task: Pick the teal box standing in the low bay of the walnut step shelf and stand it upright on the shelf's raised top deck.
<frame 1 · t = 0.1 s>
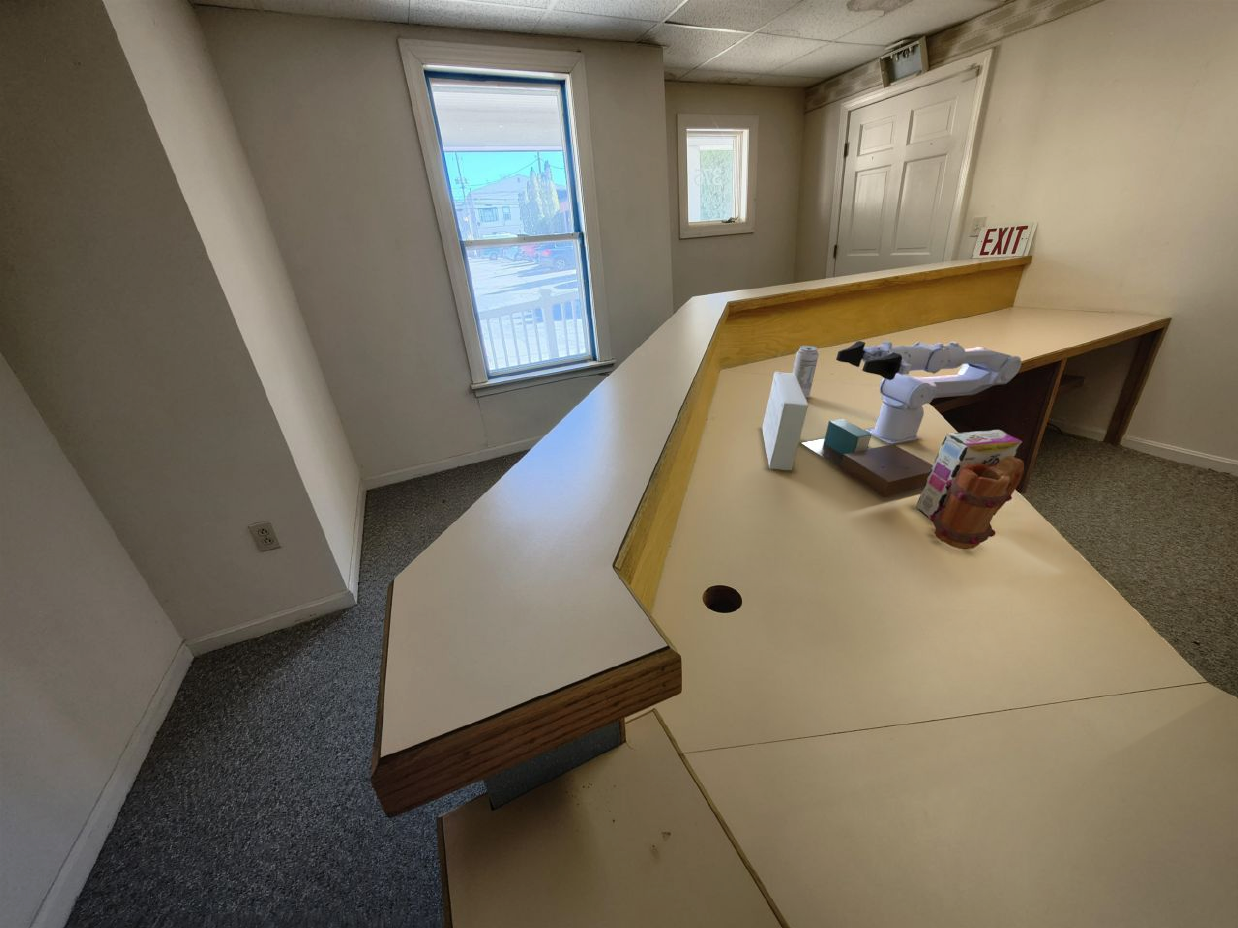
hand: (851, 361, 99), 22 cm above the worktop, tool horizontal, fingers open, 7 cm apart
skincare box: (776, 449, 109), on the worktop
energy drink can: (798, 397, 138), on the worktop
teal box: (843, 450, 108), resting on step shelf
mug: (963, 537, 81), on the worktop
step shelf: (864, 464, 103), on the worktop
candy bar box: (948, 513, 87), on the worktop
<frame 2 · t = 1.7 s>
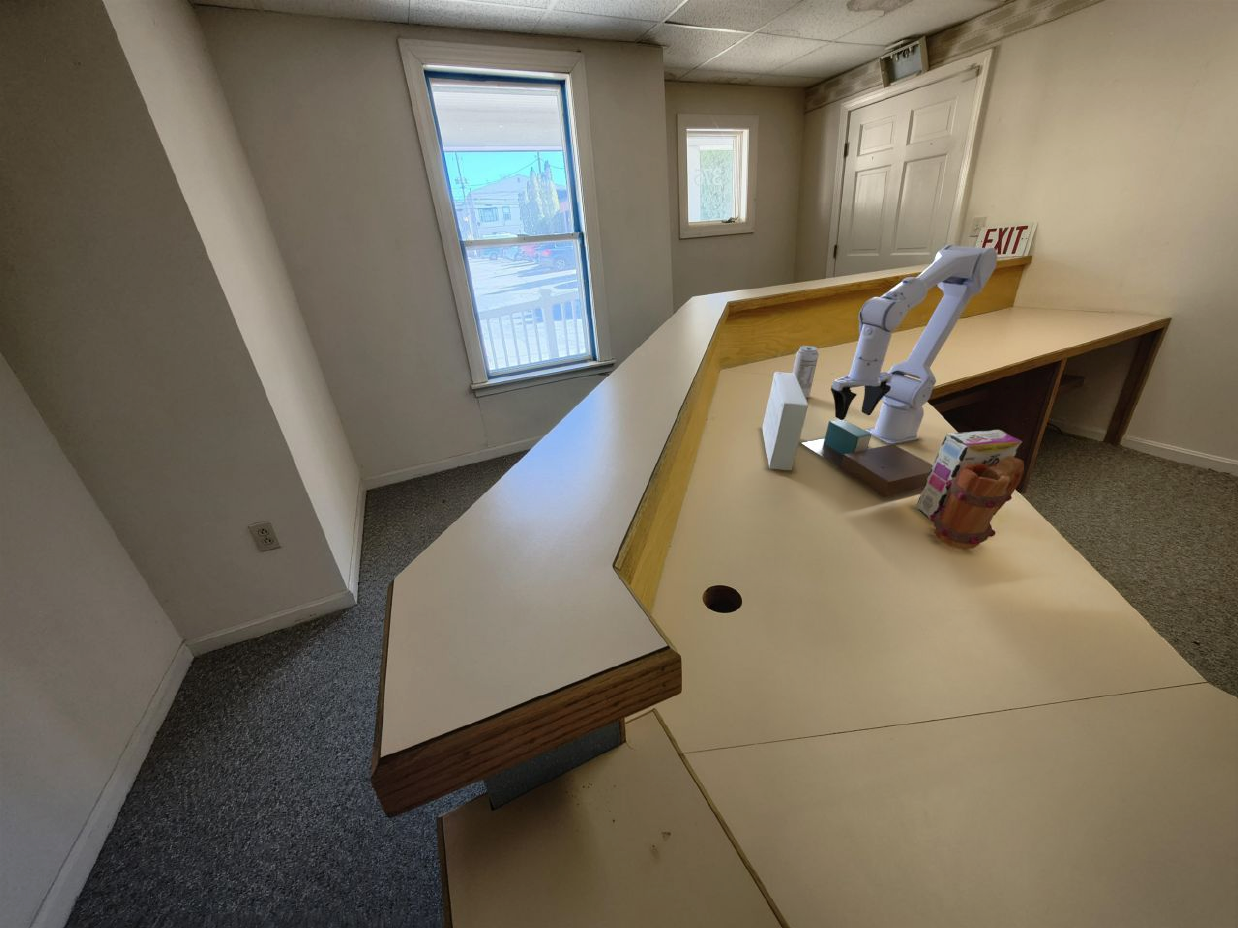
hand: (852, 415, 103), 9 cm above the worktop, tool pointing down, fingers open, 7 cm apart
nothing on the worktop moved.
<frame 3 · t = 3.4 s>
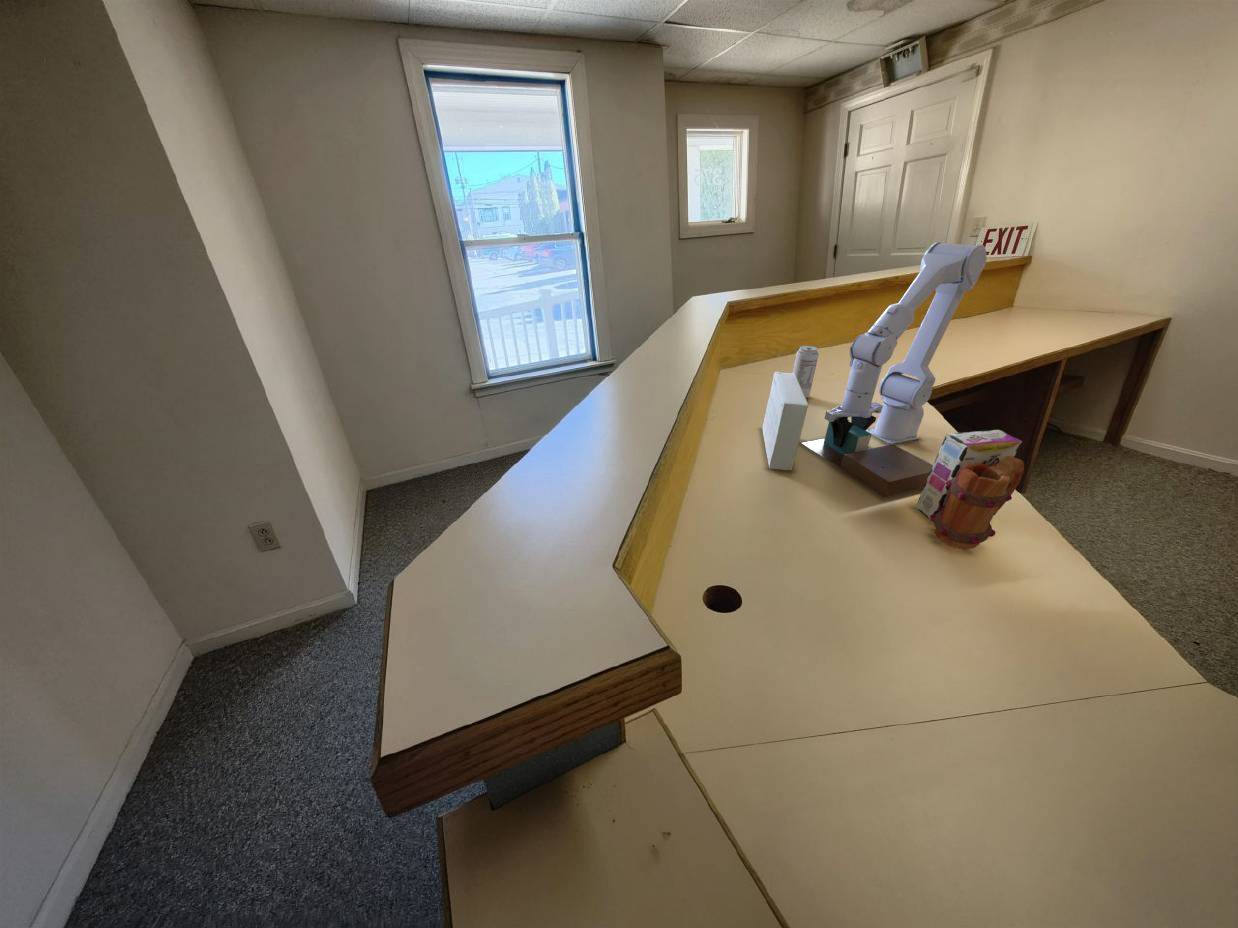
hand: (845, 444, 107), 2 cm above the worktop, tool pointing down, fingers closed on teal box, 4 cm apart
teal box: (843, 450, 108), resting on step shelf, touching gripper
everything else where it was.
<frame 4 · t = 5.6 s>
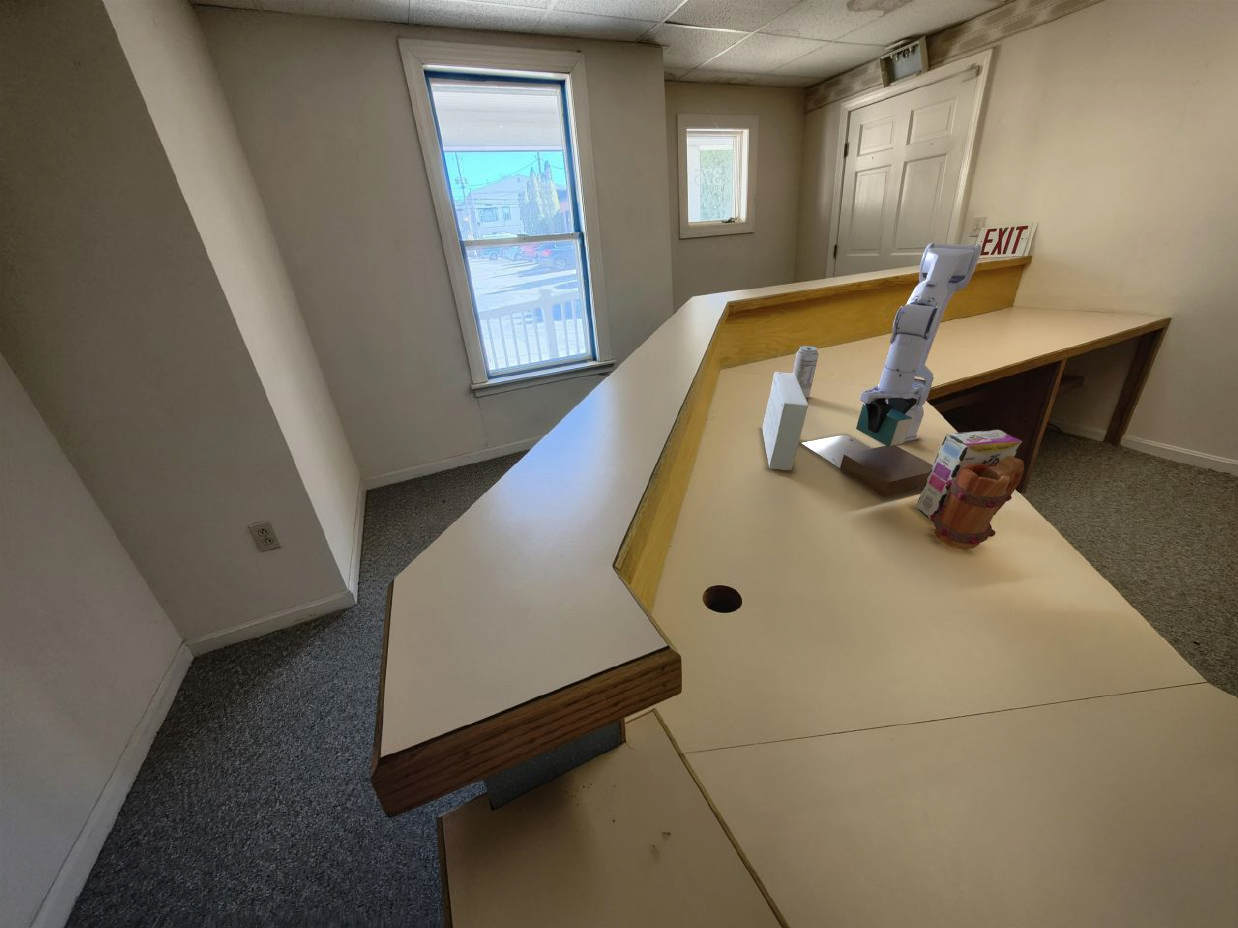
hand: (880, 429, 97), 9 cm above the worktop, tool pointing down, fingers closed on teal box, 4 cm apart
teal box: (878, 436, 98), point 8 cm above the worktop, touching gripper
everything else where it was.
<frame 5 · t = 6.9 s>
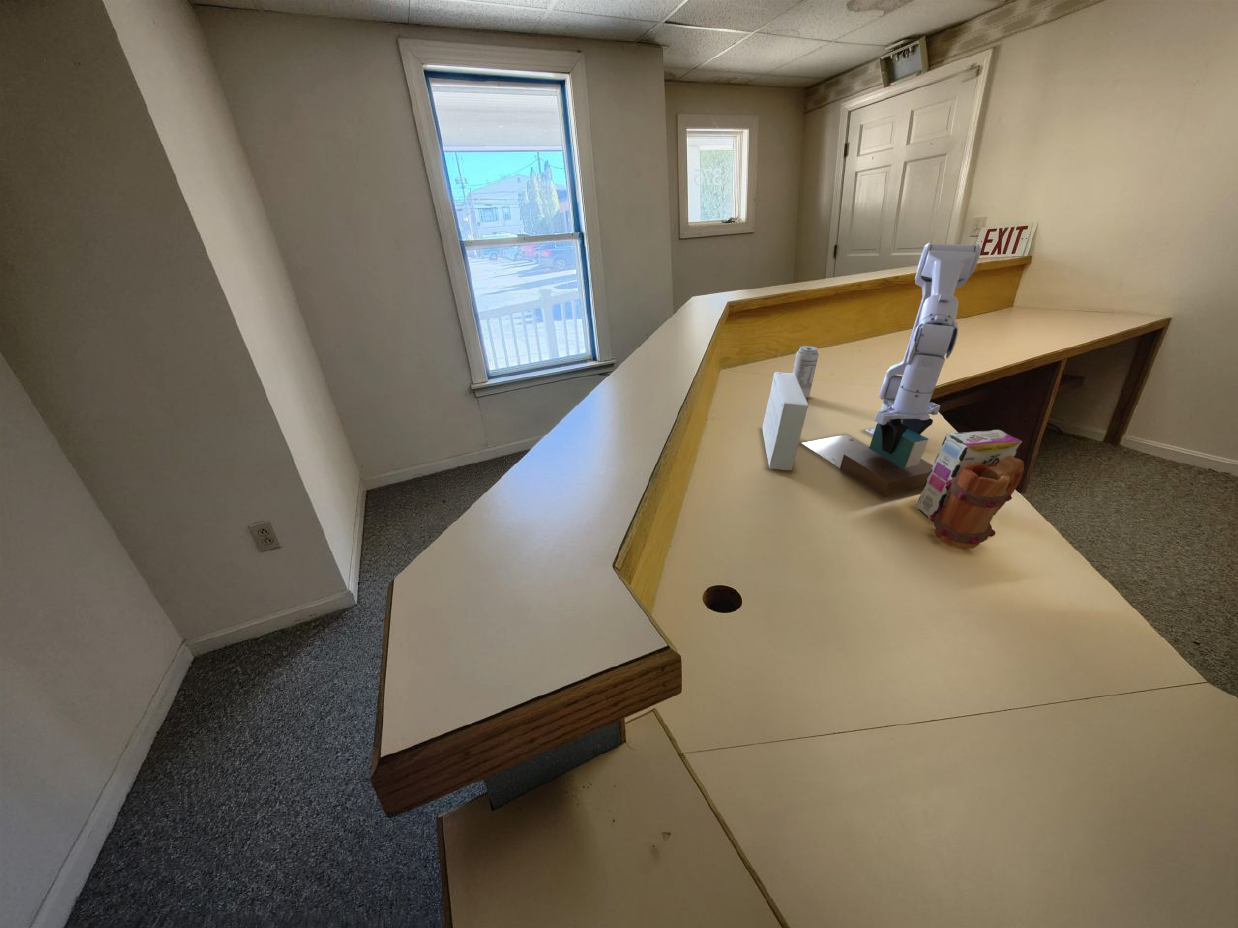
hand: (895, 449, 94), 7 cm above the worktop, tool pointing down, fingers closed on teal box, 4 cm apart
teal box: (893, 456, 95), point 5 cm above the worktop, touching gripper
everything else where it was.
when the fingers open (6 cm above the worktop, at t = 7.7 s): teal box stays where it is, resting on step shelf.
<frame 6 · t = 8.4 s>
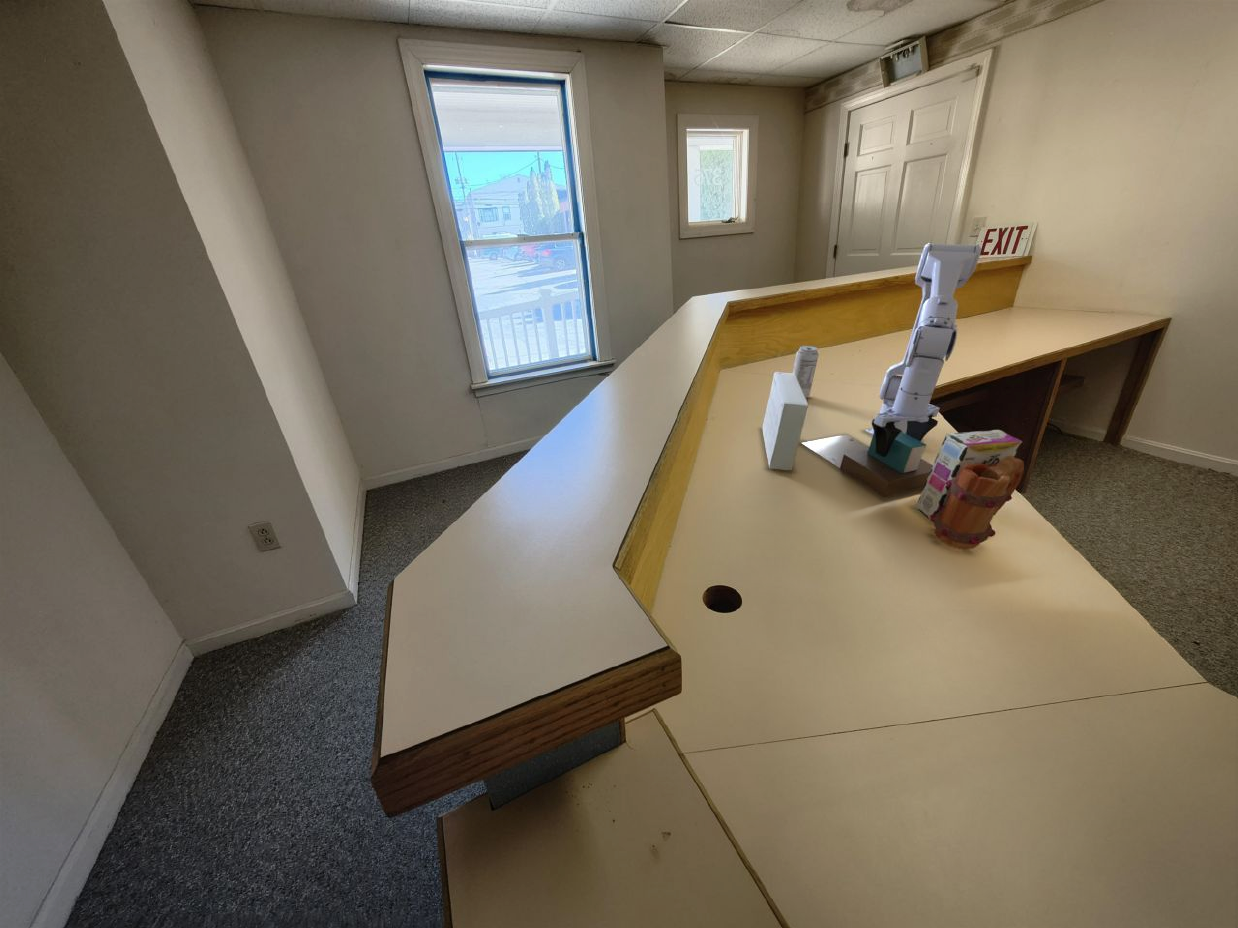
hand: (894, 451, 95), 6 cm above the worktop, tool pointing down, fingers open, 7 cm apart
teal box: (891, 461, 96), point 4 cm above the worktop, touching step shelf
everything else where it was.
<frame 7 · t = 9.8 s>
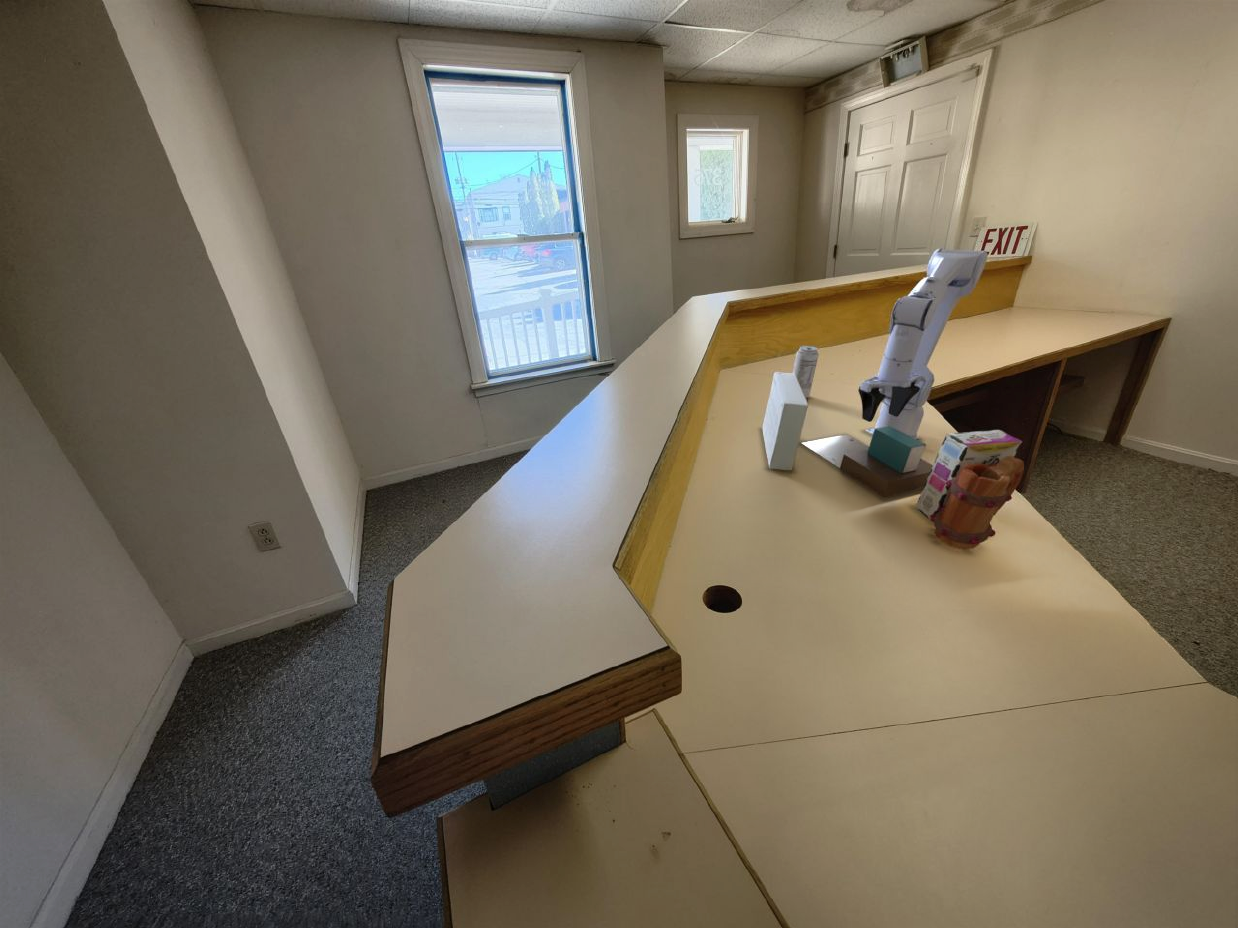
hand: (880, 417, 101), 10 cm above the worktop, tool pointing down, fingers open, 7 cm apart
nothing on the worktop moved.
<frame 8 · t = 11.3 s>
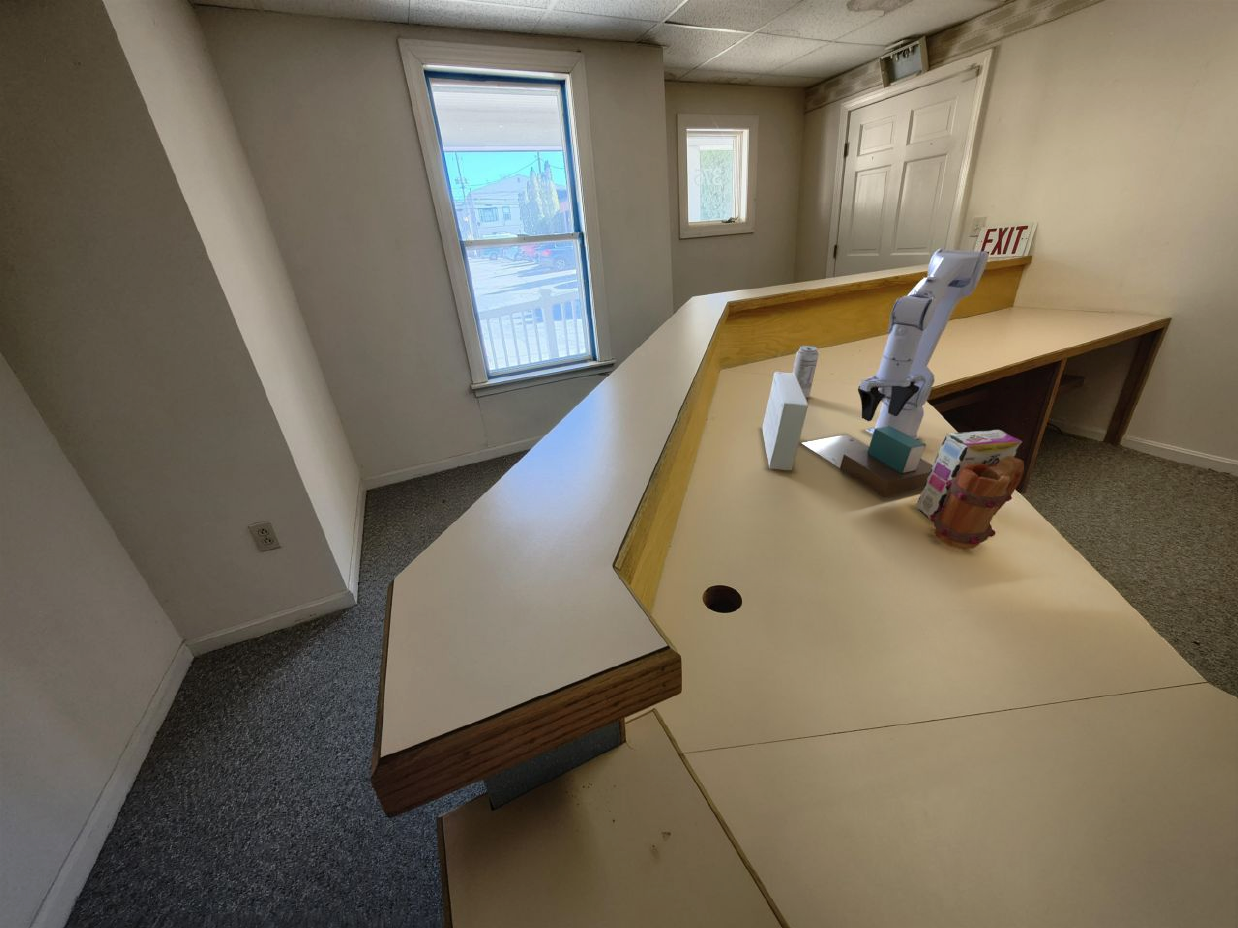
hand: (879, 416, 101), 10 cm above the worktop, tool pointing down, fingers open, 7 cm apart
nothing on the worktop moved.
at the end: teal box inside the target area on the step shelf (0.0 cm from its centre), point 4.0 cm above the step shelf's base; teal box tilted 0°; the gripper is holding nothing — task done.
